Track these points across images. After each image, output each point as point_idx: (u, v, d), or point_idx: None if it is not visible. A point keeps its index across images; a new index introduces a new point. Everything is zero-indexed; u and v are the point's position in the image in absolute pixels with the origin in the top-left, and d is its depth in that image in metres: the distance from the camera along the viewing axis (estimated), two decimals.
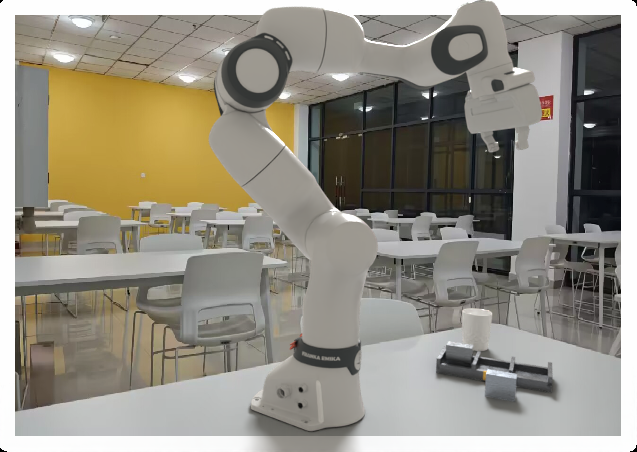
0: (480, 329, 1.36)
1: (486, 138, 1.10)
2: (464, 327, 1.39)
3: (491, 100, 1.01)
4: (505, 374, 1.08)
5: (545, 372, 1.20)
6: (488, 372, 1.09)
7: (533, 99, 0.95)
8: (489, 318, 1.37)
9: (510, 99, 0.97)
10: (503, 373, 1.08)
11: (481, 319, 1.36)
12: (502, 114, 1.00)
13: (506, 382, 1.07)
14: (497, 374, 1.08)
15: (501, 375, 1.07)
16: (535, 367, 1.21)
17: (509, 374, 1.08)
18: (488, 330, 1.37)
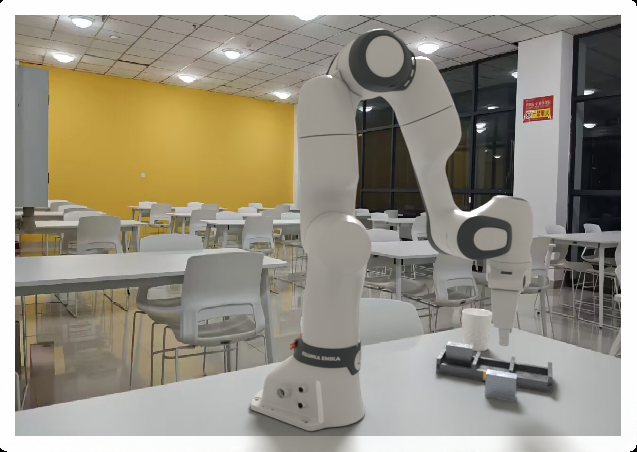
0: (480, 329, 1.36)
1: None
2: (464, 327, 1.39)
3: None
4: (505, 374, 1.08)
5: (545, 372, 1.20)
6: (488, 372, 1.09)
7: (507, 306, 0.98)
8: (489, 318, 1.37)
9: None
10: (503, 373, 1.08)
11: (481, 319, 1.36)
12: None
13: (506, 382, 1.07)
14: (497, 374, 1.08)
15: (501, 375, 1.07)
16: (535, 367, 1.21)
17: (509, 374, 1.08)
18: (488, 330, 1.37)
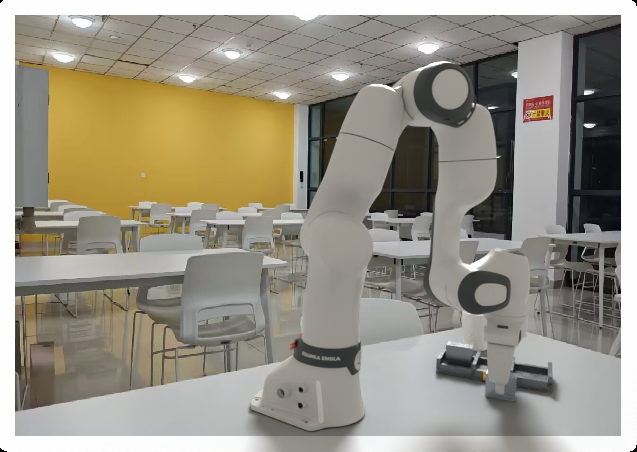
0: (480, 329, 1.36)
1: None
2: (464, 327, 1.39)
3: None
4: None
5: (545, 372, 1.20)
6: None
7: (503, 362, 0.99)
8: None
9: None
10: None
11: (481, 319, 1.36)
12: None
13: None
14: None
15: None
16: (535, 367, 1.21)
17: None
18: None
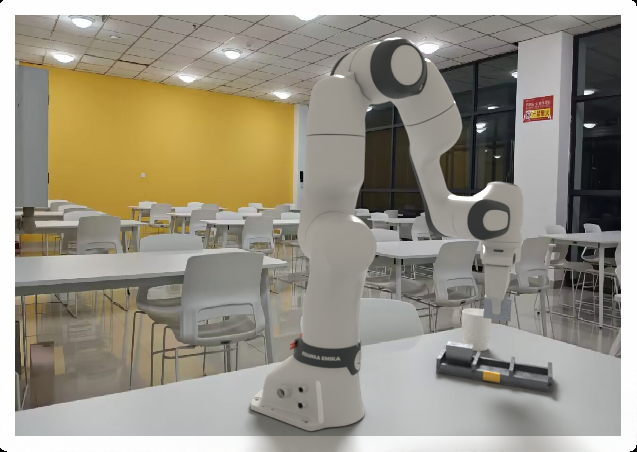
0: (480, 329, 1.36)
1: None
2: (464, 327, 1.39)
3: None
4: None
5: (545, 372, 1.20)
6: None
7: (498, 280, 1.09)
8: None
9: None
10: None
11: (481, 319, 1.36)
12: None
13: (503, 304, 1.17)
14: None
15: None
16: (535, 367, 1.21)
17: (505, 297, 1.19)
18: (488, 330, 1.37)
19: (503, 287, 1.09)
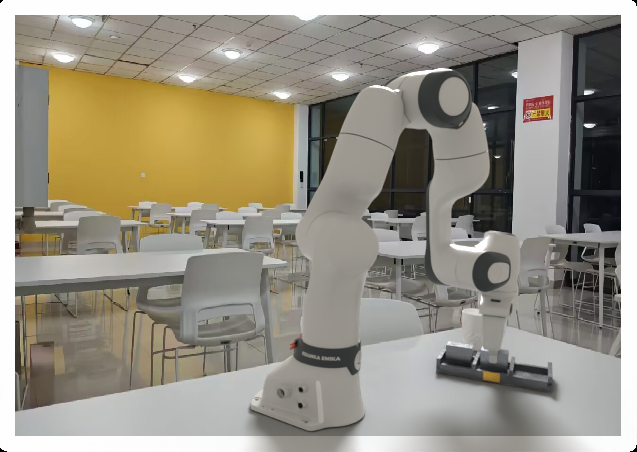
0: (480, 329, 1.36)
1: None
2: (464, 327, 1.39)
3: None
4: None
5: (545, 372, 1.20)
6: (483, 349, 1.21)
7: (495, 331, 1.10)
8: None
9: None
10: None
11: (481, 319, 1.36)
12: None
13: (499, 357, 1.18)
14: None
15: None
16: (535, 367, 1.21)
17: (502, 350, 1.20)
18: None
19: (500, 338, 1.10)
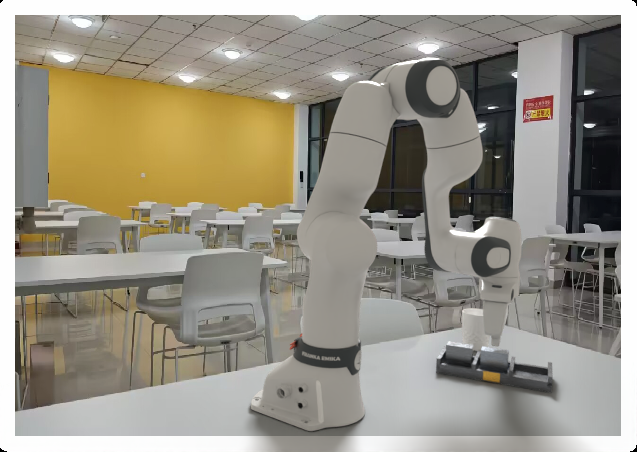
0: (480, 329, 1.36)
1: None
2: (464, 327, 1.39)
3: None
4: (498, 350, 1.20)
5: (545, 372, 1.20)
6: (483, 349, 1.21)
7: (497, 316, 1.10)
8: None
9: None
10: (496, 349, 1.20)
11: (481, 319, 1.36)
12: None
13: (499, 357, 1.18)
14: (491, 350, 1.20)
15: (494, 351, 1.19)
16: (535, 367, 1.21)
17: (502, 350, 1.20)
18: None
19: (501, 324, 1.10)
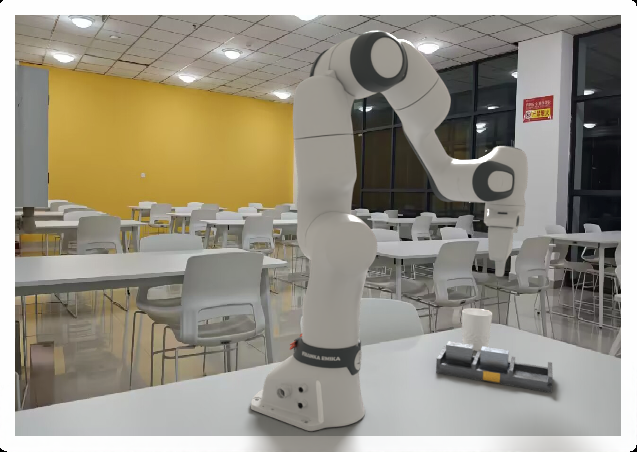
0: (480, 329, 1.36)
1: None
2: (464, 328, 1.39)
3: None
4: (498, 350, 1.20)
5: (545, 372, 1.20)
6: (483, 349, 1.21)
7: (502, 241, 1.11)
8: (489, 318, 1.37)
9: None
10: (496, 349, 1.20)
11: (481, 319, 1.36)
12: None
13: (499, 357, 1.18)
14: (491, 350, 1.20)
15: (494, 351, 1.19)
16: (535, 367, 1.21)
17: (502, 350, 1.20)
18: (488, 330, 1.37)
19: (506, 248, 1.10)
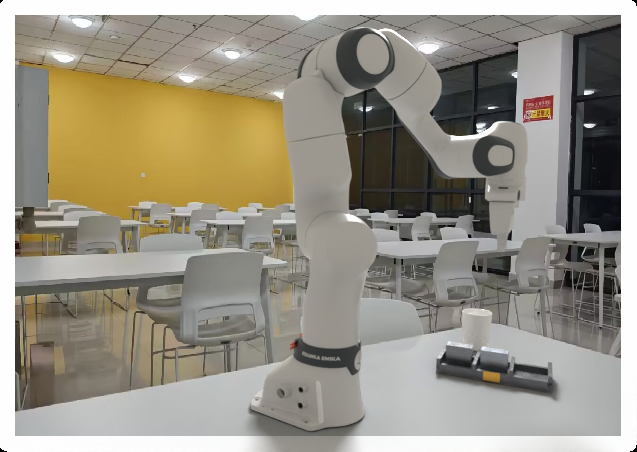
0: (480, 329, 1.36)
1: None
2: (464, 327, 1.39)
3: None
4: (498, 350, 1.20)
5: (545, 372, 1.20)
6: (483, 349, 1.21)
7: (503, 215, 1.11)
8: (489, 318, 1.37)
9: None
10: (496, 349, 1.20)
11: (481, 319, 1.36)
12: None
13: (499, 357, 1.18)
14: (491, 350, 1.20)
15: (494, 351, 1.19)
16: (535, 367, 1.21)
17: (502, 350, 1.20)
18: (488, 330, 1.37)
19: (508, 222, 1.10)
